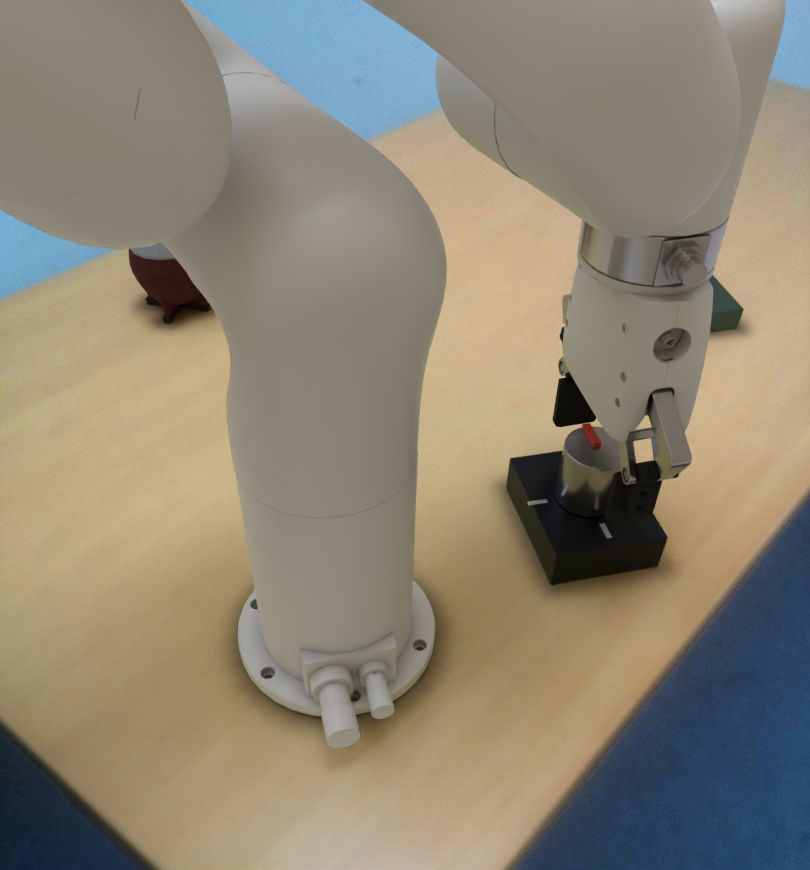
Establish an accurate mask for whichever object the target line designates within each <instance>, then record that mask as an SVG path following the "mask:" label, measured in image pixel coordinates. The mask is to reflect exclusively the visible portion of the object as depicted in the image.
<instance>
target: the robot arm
mask: <svg viewBox="0 0 810 870" xmlns="http://www.w3.org/2000/svg"><path fill="white" fill-rule="evenodd" d="M362 2H364V3H365V4H367V5H369V6H370V7H372V8H373V9H375V10H376V11H378V12H379V13H381V14H382V15H384V16H385V17H387V18H388V19H390V20H391V21H393V22H394V23H396V24H398V25H399V26H400V27H402V28H403V29H405V30H406V31H407V32H409V33H411V34H412V35H413V36H414V37H416V38H417V39H419V40H420V41H422V43H425V44H426V45H427V46H428V47H429V48H431V49H432V50H433V51H434V52H436V53H437V57H436V62H435V73H434V74H435V88H436V93H437V98H438V101H439V105H440V107H441V110H442V112H443V114H444V115H445V118H446V119H447V121H448V123H449V124H450V125H451V127H452V129H454V131H455V132H456V133H457V134H458V135H459V136H460V137H461V139H463V140H464V141H465V142H466V143H468V144H469V145H470V146H471V147H472V148H473V149H474V150H476V151H477V152H479V153H481V154H482V155H484V156H485V157H486V158H487V159H489V160H491V161H492V162H494V163H495V164H497V165H498V166H500V167H501V168H503V169H504V170H506V171H507V172H509V173H510V174H512V175H514V176H515V177H517V178H519V179H520V180H522V181H524V182H526V183H527V184H529V185H530V186H532V187H533V188H534V189H537V190H538V191H539V192H541V193H542V194H544V195H545V196H547V197H548V198H550V199H551V200H553V201H554V202H556V203H558V204H559V205H560V206H562V207H563V208H565V209H566V210H568V211H569V212H571V213H572V214H573V215H575V216H576V217H578V219H581V221H580V222H581V223H580V229H579V235H578V236H579V237H578V242H577V243H578V244H577V249H576V260H577V264H576V268H575V272H574V276H573V281H572V285H571V289H570V293H568V294H567V293H566V294H563V295H562V299H561V303H562V305H561V306H562V307H561V308H562V323H563V324H564V326H562V327H561V330H560V333H559V339H560V341H561V345H562V356H561V358H559V359H558V362H557V368H558V373H559V375H560V376H561V378H558V382H557V386H556V387H557V389H556V395H555V401H554V406H553V414H552V422H553V424H554V426H555V427H557V428H564V427H571V426H576V425H582V424H587V423H590V424H591V423H594V422H595V421H596V420H597V421H598V422H599V424H600V426H601V427H602V428H604V430H605V431H606V433H607V434H608V435H609V436H610V437H612V438H613V439H614V440H616V441H617V443H618V452H619V460H620V468H621V471H619V472H616V473H614V475H613V480H612V484H611V488H610V492H609V497H608V501H607V505H606V509H605V513H604V515H605V517H606V519H607V521H608V522H610V523H612V522H618V521H623V520H628V519H635V518H640V517H645V516H649V515H651V514H652V513H653V514H654V510H655V507H656V504H657V500H658V497H659V495H660V491H661V487H662V483H663V481H666V480H667V481H668V480H673V479H677V478H678V477H679V476H680V474H681V473H682V472H683V471H685V470H686V469H687V468H688V467H689V466H690V465H691V464H692V461H693V457H692V452H691V448H690V446H689V442H688V438H687V436H686V431H687V428H688V426H689V424H690V422H691V418H692V415H693V413H694V408H695V404H696V401H697V398H698V397H697V396H698V392H699V389H700V384H701V380H702V375H703V371H704V366H705V363H706V362H705V361H706V356H707V350H708V346H709V339H710V334H711V332H710V326H711V317H712V306H713V287H712V285H711V283H710V281H709V279H710V278H711V276H712V275H713V274H714V272H715V269H716V265H717V261H718V258H719V255H720V251H721V247H722V244H723V239H724V237H725V233H726V230H727V226H728V223H729V219H730V216H731V211H732V207H733V205H734V202H735V198H736V194H737V192H738V188H739V184H740V180H741V177H742V174H743V170H744V167H745V165H746V161H747V156H748V153H749V149H750V145H751V143H752V139H753V136H754V132H755V129H756V126H757V122H758V118H759V115H760V112H761V108H762V105H763V104H762V103H763V101H764V97H765V93H766V90H767V86H768V84H769V83H768V82H769V80H770V76H771V73H772V69H773V65H774V62H775V59H776V56H777V51H778V48H779V44H780V40H781V37H782V32H783V27H784V25H785V24H784V23H785V17H786V3H785V2H786V1H785V0H362ZM0 211H1V212H3V213H5V214H6V215H8V216H10V217H12V218H14V219H15V220H18V222H19V221H20V222H22V223H24V224H26V225H28V226H29V227H32V228H35V229H36V230H38V231H41V232H43V233H44V234H46V235H48V236H51V237H53V238H57V239H61V240H64V241H68V242H69V243H70V242H71V243H74V244H78V245H81V246H84V247H91V248H99V249H109V250H120V251H121V250H129V249H130V248H140V247H149V246H152V245H155V244H158V243H160V242H161V243H162V244H163V245H164V246H165V247H166V248H167V249H168V250H169V251H170V252H171V254H172V255H173V256H174V257H175V258H176V260H177V261H178V262H179V263H180V265H181V266H182V267H183V268H184V270H185V271H186V272H187V274H188V276H189V277H190V279H191V280H192V282H193V283H194V285H195V286H196V287H197V288H198V290H199V291H200V292H201V293H202V295H203V296H204V297H205V298H206V300H207V303H209V304H210V305H211V306H210V307H211V308H212V310H213V312H214V313H215V316H216V317H217V319H218V321H219V324H220V326H221V328H222V331H223V333H224V336H225V340H226V344H227V347H228V353H229V376H228V377H229V378H228V384H227V389H226V399H225V401H226V402H225V413H226V415H225V416H226V426H227V427H226V428H227V435H228V443H229V448H230V455H231V461H232V467H233V471H234V475H235V480H236V486H237V493H238V499H239V506H240V510H241V516H242V517H241V518H242V521H243V529H244V534H245V540H246V541H245V542H246V546H247V547H246V548H247V552H248V560H249V565H250V571H251V576H252V577H251V578H252V584H253V589H254V590H253V591H252V592H251V593H250V595H249V596H248V598H247V600H246V601H245V603H244V605H243V607H242V610H241V613H240V615H239V619H238V627H237V642H238V650H239V654H240V658H241V662H242V664H243V667H244V669H245V671H246V673H247V675H248V677H249V678H250V680H251V681H252V682H253V684H254V685H256V687H257V688H258V689H259V690H260V692H261V693H263V694H264V695H265V696H267V697H268V698H270V699H271V700H272V701H274V702H275V703H277V704H279V705H281V706H283V707H285V708H287V709H289V710H291V711H294V712H297V713H301V714H305V715H308V716H314V717H321V720H322V726H323V732H324V736H325V742H326V745H327V746H328V747H330V748H332V749H345V748H348V747H350V746H353V745H355V744H356V743H357V742H358V741H360V738H361V732H360V728H359V727H360V725H359V722H358V718H357V715H362V714H365V713H370V714H371V718H373V719H376V720H383V719H386V718H389V717H391V716H392V715H394V714H395V711H396V709H395V708H396V707H395V705H394V701H395V700H397V699H398V698H400V697H402V696H403V695H404V694H405V693H407V692H409V690H410V689H411V688H412V687H413V686H414V685H415V684H416V683H417V682H418V681H419V680H420V678H421V676H422V675H423V673H424V672H425V671H426V670H427V668H428V665H429V663H430V660H431V658H432V655H433V652H434V648H435V647H434V646H435V640H436V620H435V615H434V610H433V607H432V604H431V602H430V600H429V599H428V596H427V594H426V593H425V591H424V590H423V589H422V588H421V586H420V585H419V583H418V582H417V581H416V580H415V579H414V567H415V565H414V564H415V561H414V560H415V540H416V516H417V515H416V514H417V492H418V490H417V489H418V488H417V487H418V465H419V464H418V463H419V462H418V460H419V450H418V449H419V429H420V413H421V403H422V402H421V401H422V393H423V392H422V391H423V386H424V385H423V384H424V378H425V374H426V373H425V372H426V368H427V363H428V358H429V356H430V355H429V354H430V350H431V347H432V343H433V340H434V336H435V333H436V329H437V326H438V323H439V319H440V316H441V312H442V309H443V306H444V305H443V304H444V299H445V293H446V288H447V280H448V279H447V278H448V259H447V252H446V247H445V242H444V238H443V234H442V232H441V229H440V226H439V224H438V222H437V219H436V216H435V215H434V213H433V211H432V209H431V208H430V205H429V204H428V202H427V201H426V200H425V198H424V197H423V195H422V194H421V192H420V191H419V189H418V188H417V187H416V185H415V184H414V183H413V182H412V181H411V180H410V178H409V177H408V176H407V175H406V174H405V173H404V172H403V171H402V170H401V169H400V167H398V166H397V165H396V163H394V162H393V161H392V160H390V159H389V158H388V157H387V156H386V155H385V154H384V153H382V152H381V151H380V150H379V149H378V148H376V147H375V146H374V145H372V143H369V142H368V141H367V140H365V139H364V138H362V137H361V136H360V135H359V134H358V133H356V132H355V131H354V130H352V129H351V128H350V127H349V126H347V125H346V124H344V123H343V122H342V121H340V120H339V119H337V118H336V117H334V116H333V115H330V114H329V113H327V111H325V110H324V109H322V108H320V107H319V106H318V105H317V104H316V103H314V102H313V101H311V100H310V99H309V98H308V97H306V96H305V95H303V94H302V93H301V92H299V91H298V90H297V89H295V88H294V87H292V86H291V85H290V84H289V83H287V82H286V81H285V80H284V79H282V78H281V77H280V76H278V75H277V74H276V73H274V71H272V70H271V69H269V68H268V67H267V66H265V65H264V64H263V63H261V62H260V61H259V60H257V58H255V57H254V56H253V55H251V54H250V53H249V52H248V51H247V50H245V49H244V48H243V47H241V45H239V44H238V43H237V42H235V41H234V40H233V39H232V38H231V37H229V36H228V35H227V34H226V33H225V32H223V31H222V30H221V29H220V28H218V27H217V26H216V25H215V24H213V22H211V21H210V20H209V19H208V18H207V17H205V16H204V15H203V14H202V13H200V12H199V10H197V9H195V8H194V7H193V6H192V5H190V4H189V3H188V2H187V1H186V0H0ZM646 416H647V417H648V420H649V422H650V426H649V427H642V428H638V427H639V425H640V424H641V423H642V421H643V420H644V419H645V417H646ZM647 439H648V440H649V439H650V441H651V447H652V448H651V450H652V460H645V461H641V462H637V458H636V451H635V442H636V441H637V442H638V441H642V440H647Z"/></svg>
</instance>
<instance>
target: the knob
mask: <svg viewBox="0 0 810 870" xmlns="http://www.w3.org/2000/svg"><path fill="white" fill-rule="evenodd" d="M562 451H563V452H562V457H561V462H560V467H559V472H558V477H557V482H556V487H555V497H556V499H557V501H558V503H559V504H560V505H561V506H562V507H563V508H564V509H566V510H567V511H569V512H571V513H573V514H576V515H579V516H583V517H599V516H603V515H604V513H605V509H606V505H607V501H608V497H609V492H610V488H611V484H612V480H613V475H614V473H616V472H619V471H621V468H620V460H619V452H618V443H617V441H616V440H614V439H613V438H612V437H610V436H609V435H608V434H607V433H606V431H605V430H604V428H603V427H602V426H593V425H592V424H591V422H590V423H584V424H581V427H579V428H576V429H574V430H572V431H570V433H568V435H566V437H565V438H564V443H563V447H562Z"/></svg>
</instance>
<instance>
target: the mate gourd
mask: <svg viewBox="0 0 810 870" xmlns="http://www.w3.org/2000/svg"><path fill="white" fill-rule="evenodd" d="M128 263H129V267H130V270H131V272H132V275H133V276H134V278H135V279H136V281H137V283H138V284H139V285H140V287H141V288H142V289H143V290H144V291H145V292H146V294H147V296H146V297H145V302H146V304H147V305H150V306H158V307H159V306H160V307H161V308H162V311H163V314H164V315H163V316H162V322H163V324H169V325H170V324H172V323H173V322H174V320H175V319H176V317H177V316H178V315H179V313H180V312H181V310H191V311H201V312H209V311H211V308H212V307H211V305H210V304H209V302H208V301H207V300H206V298H205V297H204V296H203V295H202V293H201V292H200V291H199V290H198V288H197V287H196V286H195V285H194V283H193V282H192V280H191V279H190V277H189V276H188V274H187V272H186V271H185V270H184V268H183V267H182V266H181V265H180V263H179V262H178V261H177V260H176V258H175V257H174V256H173V255H172V254H171V252H170V251H169V250H168V249H167V248H166V247H165V246H164V245H163V244H162V243H161V242H160V243H158V244H155V245H152V246H149V247H140V248H130V249H128Z"/></svg>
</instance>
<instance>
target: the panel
mask: <svg viewBox="0 0 810 870" xmlns="http://www.w3.org/2000/svg"><path fill="white" fill-rule="evenodd" d="M562 452H563V450H556V451H550V452H549V451H548V452H542V453H535V454H530V455H529V454H528V455H523V456H522V455H521V456H516V457H510V458H509V463H508V470H507V477H506V485H505V488H506V491H507V492H508V495H509V498H510V499H511V502H512V504H513V506H514V509H515V511H516V513H517V515H518V518H519V519H520V522H521V524H522V526H523V528H524V530H525V532H526V535H527V537H528V539H529V541H530V543H531V546H532V548H533V550H534V552H535V554H536V556H537V559H538V560H539V563H540V564H541V565H540V566H541V567H542V570H543V571H544V574H545V576H546V579H547V580H548V583H549V584H550V586H554V585H561V584H565V583H572V582H577V581H583V580H588V579H595V578H600V577H606V576H611V575H616V574H617V575H618V574H622V573H628V572H634V571H640V570H646V569H651V568H657V567H659V565H660V562H661V559H662V556H663V554H664V550H665V548H666V545H667V541H668V539H669V537H668V535H667V533H666V532H665V530H664V529H663V528H664V527H662V525H661V524H660V522H659V520H658V518H657V517H656V515H655V513H654V512H653V513H652V514H651V515H649V516H645V517H640V518H635V519H628V520H623V521H618V522H612V523H610V522H608V521H607V519H606V517H605V515H603V516H599V517H583V516H579V515H576V514H573V513H571V512H569V511H567V510H566V509H564V508H563V507H562V506H561V505H560V504H559V503H558V501H557V499H556V497H555V487H556V482H557V477H558V472H559V467H560V462H561V457H562Z"/></svg>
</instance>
